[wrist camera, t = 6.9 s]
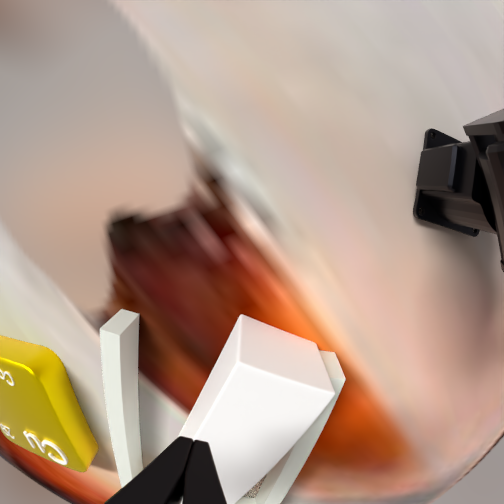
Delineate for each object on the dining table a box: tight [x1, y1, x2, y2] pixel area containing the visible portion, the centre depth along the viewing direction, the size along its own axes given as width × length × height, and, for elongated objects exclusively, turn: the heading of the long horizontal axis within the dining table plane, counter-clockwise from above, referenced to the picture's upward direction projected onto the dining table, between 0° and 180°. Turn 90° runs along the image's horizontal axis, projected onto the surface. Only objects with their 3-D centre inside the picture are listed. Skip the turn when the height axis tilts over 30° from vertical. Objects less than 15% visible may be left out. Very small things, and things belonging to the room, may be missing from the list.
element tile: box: [0, 335, 98, 472], centre depth 21 cm, size 15×15×5 cm
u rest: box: [100, 309, 346, 504], centre depth 21 cm, size 16×24×4 cm
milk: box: [177, 314, 335, 504], centre depth 19 cm, size 6×6×22 cm
